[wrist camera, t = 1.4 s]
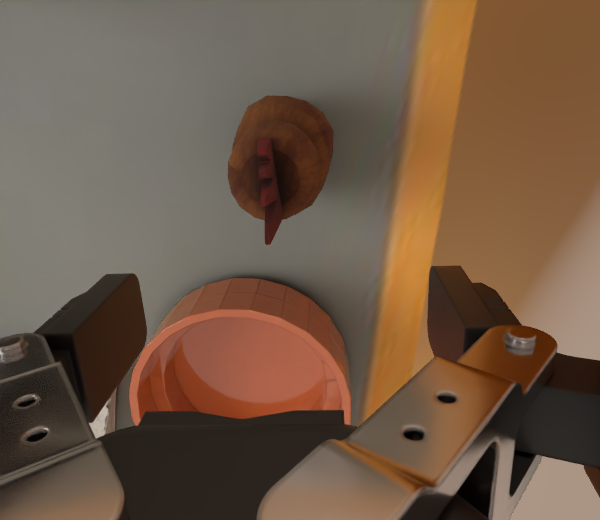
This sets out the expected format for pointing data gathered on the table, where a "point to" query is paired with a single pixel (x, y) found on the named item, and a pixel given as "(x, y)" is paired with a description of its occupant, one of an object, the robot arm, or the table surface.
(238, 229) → the table surface
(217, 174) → the table surface
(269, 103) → the wooden figurine
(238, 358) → the bowl
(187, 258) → the table surface
